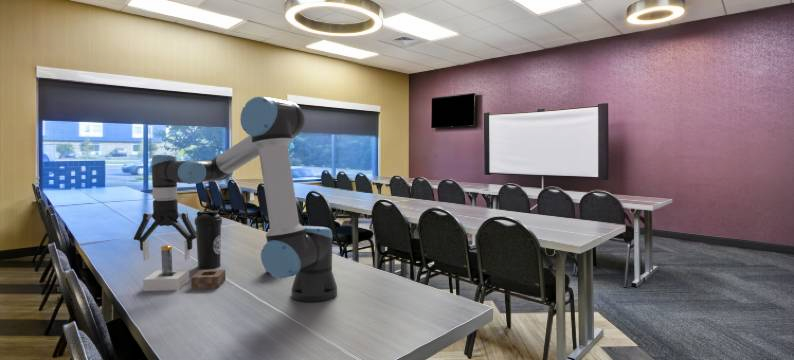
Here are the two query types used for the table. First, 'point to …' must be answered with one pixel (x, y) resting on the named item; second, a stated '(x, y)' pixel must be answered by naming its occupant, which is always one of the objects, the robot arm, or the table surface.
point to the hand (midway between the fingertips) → (166, 259)
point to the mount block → (208, 279)
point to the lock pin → (166, 260)
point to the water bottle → (208, 239)
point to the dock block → (165, 281)
